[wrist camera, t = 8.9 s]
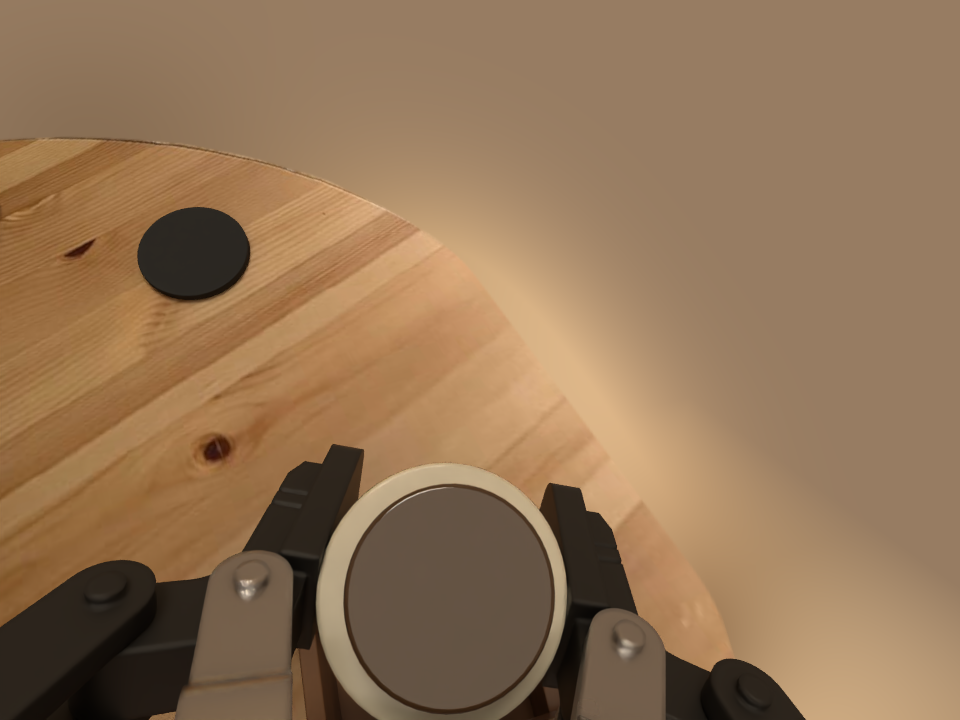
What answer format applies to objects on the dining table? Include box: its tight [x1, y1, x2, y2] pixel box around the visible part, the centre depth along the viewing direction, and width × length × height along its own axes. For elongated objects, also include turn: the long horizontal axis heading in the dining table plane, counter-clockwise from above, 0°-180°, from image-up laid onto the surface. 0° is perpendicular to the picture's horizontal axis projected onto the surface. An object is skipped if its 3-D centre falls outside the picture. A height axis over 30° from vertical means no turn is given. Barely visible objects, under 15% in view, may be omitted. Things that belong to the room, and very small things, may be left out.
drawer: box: [299, 627, 560, 720], centre depth 26 cm, size 15×13×6 cm
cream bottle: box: [315, 462, 567, 720], centre depth 13 cm, size 4×4×10 cm
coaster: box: [137, 207, 250, 300], centre depth 37 cm, size 7×7×1 cm
